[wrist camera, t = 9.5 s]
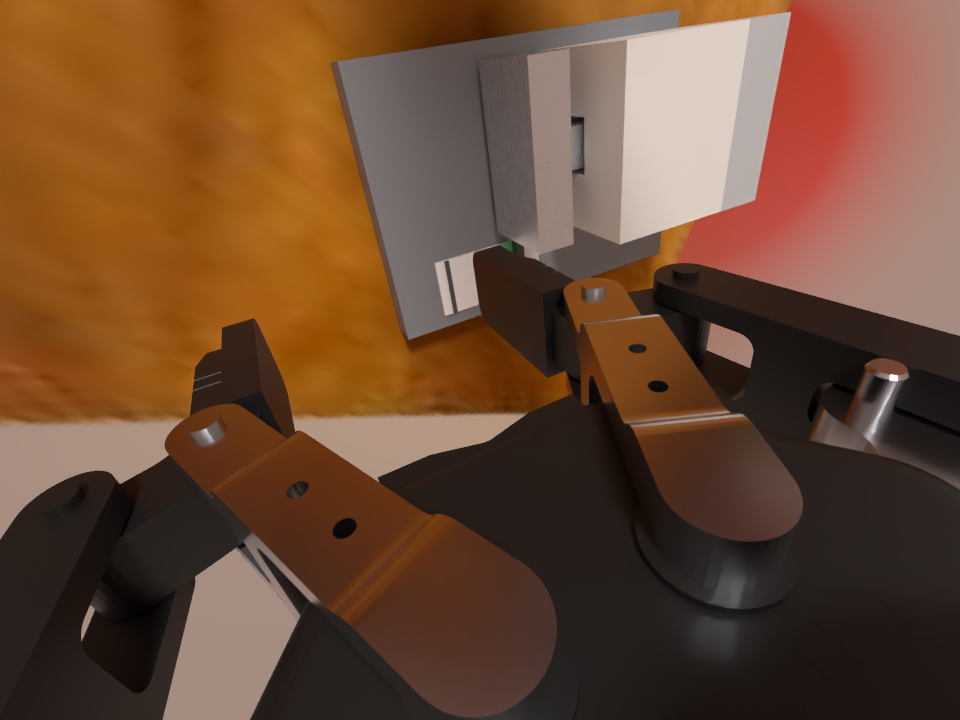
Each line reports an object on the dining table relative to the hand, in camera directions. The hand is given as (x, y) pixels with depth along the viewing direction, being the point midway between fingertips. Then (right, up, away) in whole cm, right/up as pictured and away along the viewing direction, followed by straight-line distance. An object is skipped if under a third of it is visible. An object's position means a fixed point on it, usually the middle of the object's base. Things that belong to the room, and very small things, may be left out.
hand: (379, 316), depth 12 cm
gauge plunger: (+9, +11, +20) cm, 25 cm away
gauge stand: (+6, +12, +21) cm, 25 cm away
